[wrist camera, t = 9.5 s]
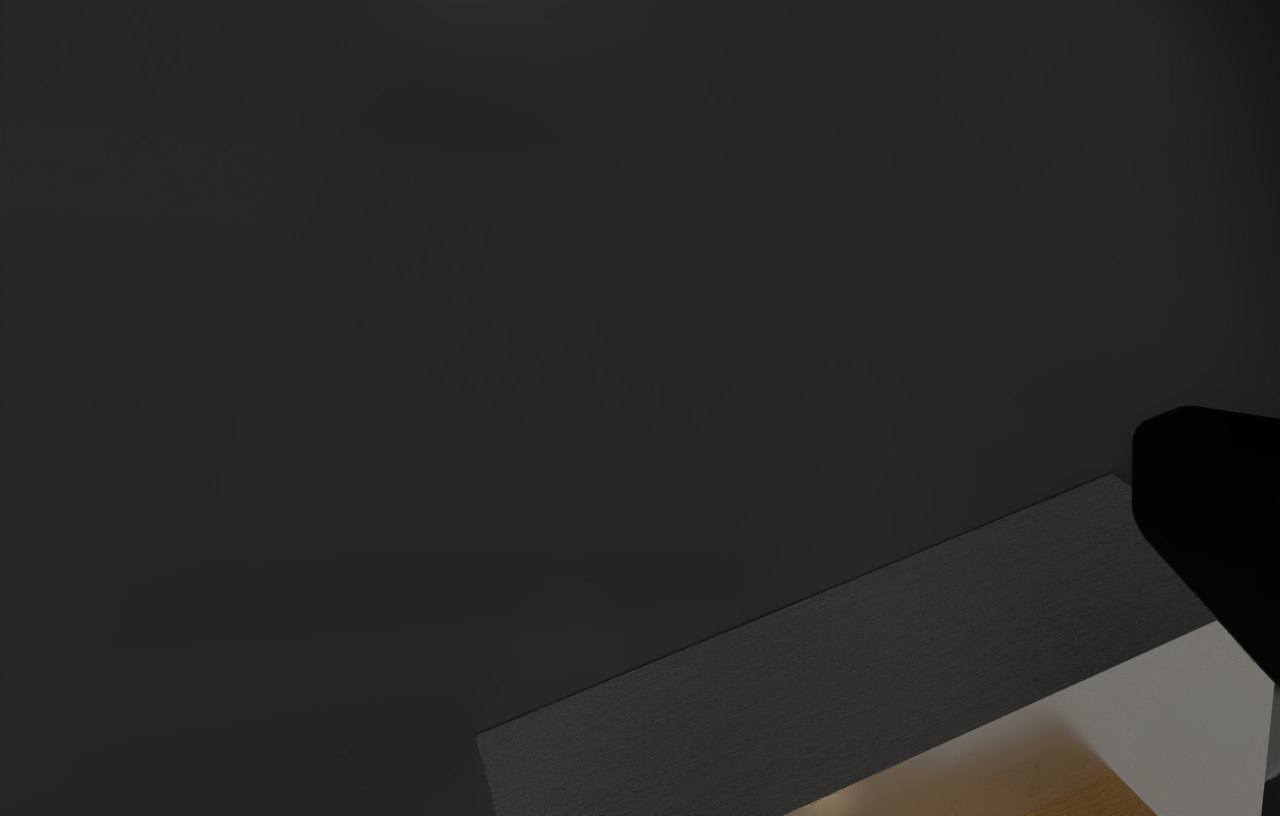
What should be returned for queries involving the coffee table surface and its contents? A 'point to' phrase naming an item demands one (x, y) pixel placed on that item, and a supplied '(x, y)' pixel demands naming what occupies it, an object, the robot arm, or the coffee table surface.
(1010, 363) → the coffee table surface
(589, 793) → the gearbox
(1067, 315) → the coffee table surface
